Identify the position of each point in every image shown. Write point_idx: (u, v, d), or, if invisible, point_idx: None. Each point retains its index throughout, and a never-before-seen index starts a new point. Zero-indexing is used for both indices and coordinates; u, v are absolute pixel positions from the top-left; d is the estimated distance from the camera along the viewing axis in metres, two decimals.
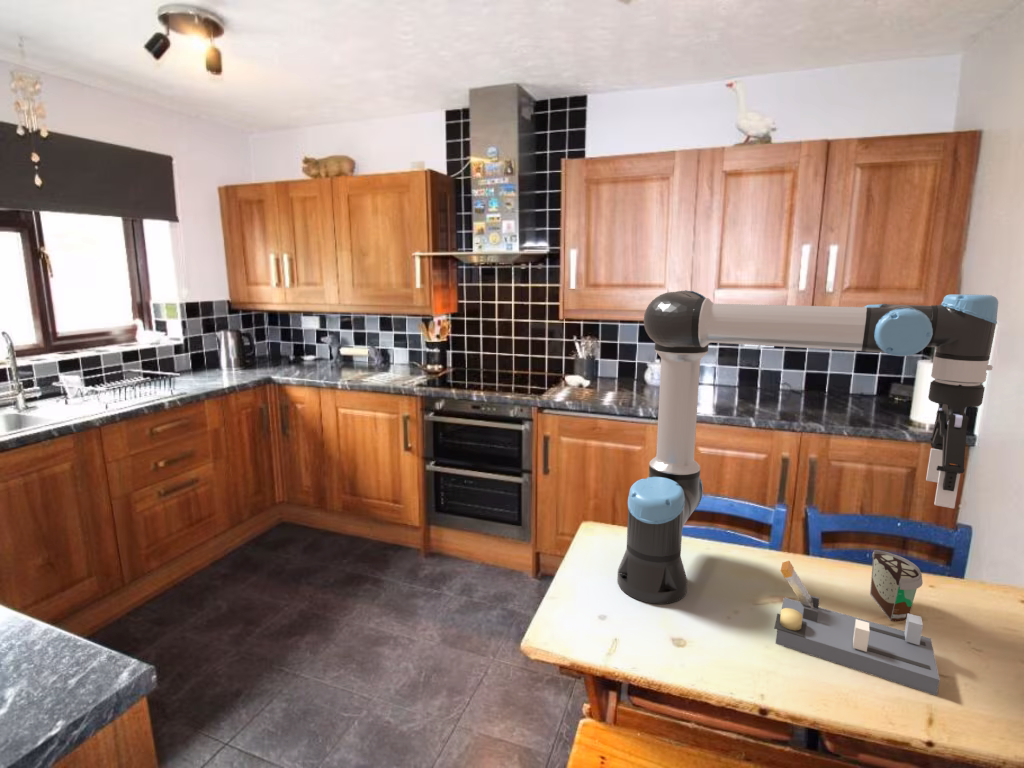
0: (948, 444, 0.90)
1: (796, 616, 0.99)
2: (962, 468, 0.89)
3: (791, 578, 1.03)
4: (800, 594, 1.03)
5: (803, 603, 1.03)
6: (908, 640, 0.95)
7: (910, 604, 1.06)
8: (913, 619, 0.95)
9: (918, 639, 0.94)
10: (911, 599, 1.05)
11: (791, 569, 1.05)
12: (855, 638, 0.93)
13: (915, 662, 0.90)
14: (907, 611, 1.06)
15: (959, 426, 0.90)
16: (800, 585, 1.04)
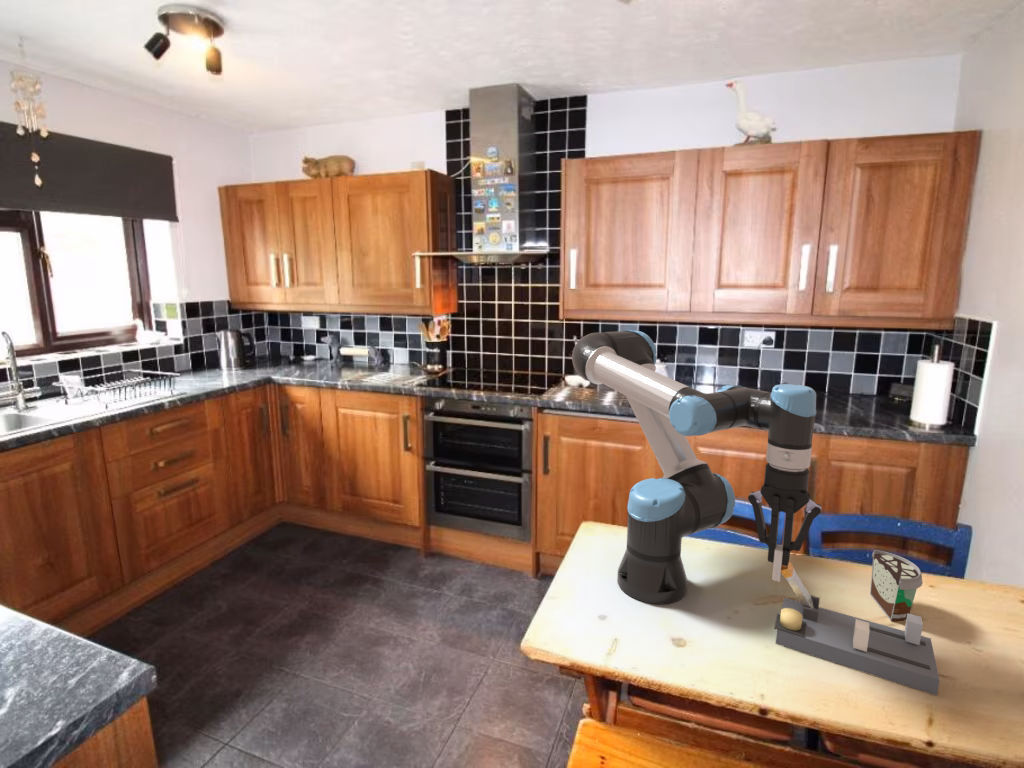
0: None
1: (796, 616, 0.99)
2: (759, 539, 1.06)
3: (791, 578, 1.03)
4: (800, 594, 1.03)
5: (803, 603, 1.03)
6: (908, 640, 0.95)
7: (910, 604, 1.06)
8: (913, 619, 0.95)
9: (918, 639, 0.94)
10: (911, 599, 1.05)
11: (791, 569, 1.05)
12: (855, 638, 0.93)
13: (915, 662, 0.90)
14: (907, 611, 1.06)
15: None
16: (800, 585, 1.04)
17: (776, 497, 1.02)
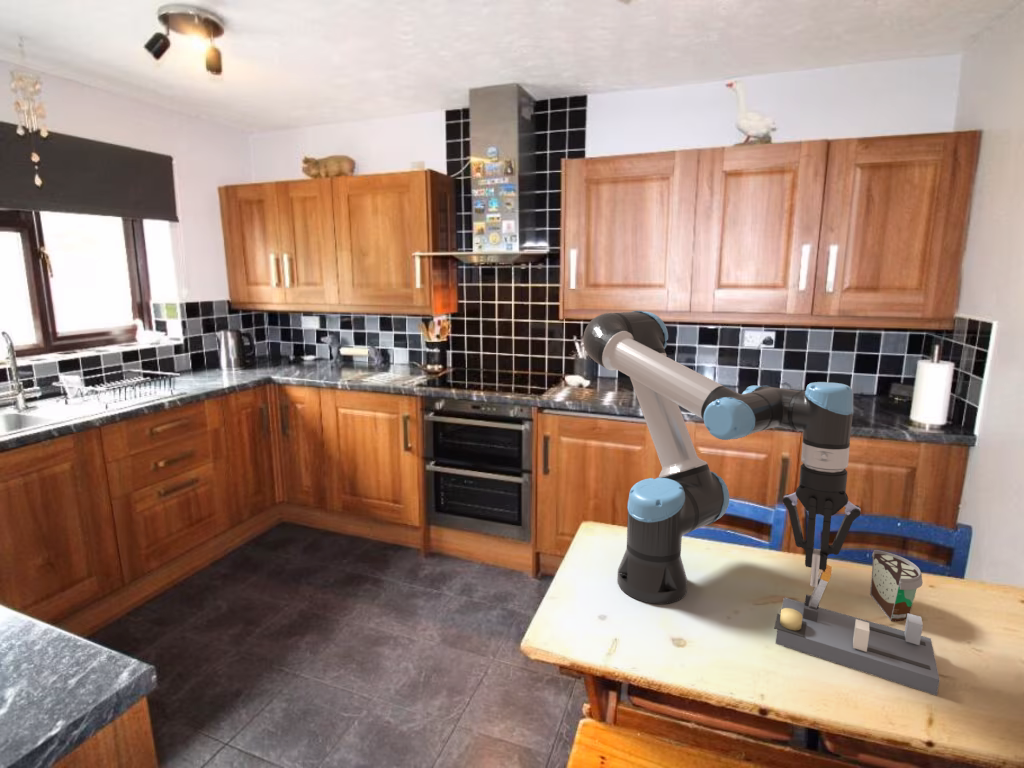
0: None
1: (796, 616, 0.99)
2: None
3: (825, 582, 1.00)
4: (818, 597, 1.01)
5: (812, 603, 1.02)
6: (908, 640, 0.95)
7: (910, 604, 1.06)
8: (913, 619, 0.95)
9: (918, 639, 0.94)
10: (911, 599, 1.05)
11: None
12: (855, 638, 0.93)
13: (915, 662, 0.90)
14: (907, 611, 1.06)
15: None
16: None
17: (813, 499, 0.98)
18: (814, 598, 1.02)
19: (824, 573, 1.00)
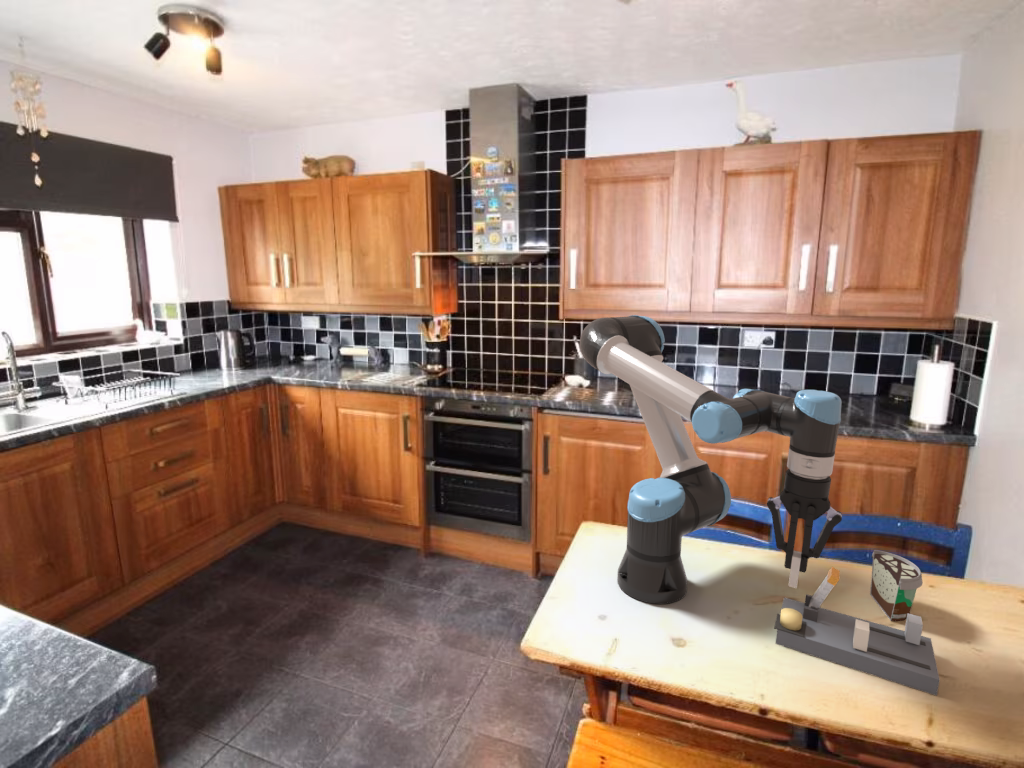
0: None
1: (796, 616, 0.99)
2: (776, 545, 1.04)
3: (831, 586, 1.00)
4: (821, 599, 1.01)
5: (814, 604, 1.02)
6: (908, 640, 0.95)
7: (910, 604, 1.06)
8: (913, 619, 0.95)
9: (918, 639, 0.94)
10: (911, 599, 1.05)
11: None
12: (855, 638, 0.93)
13: (915, 662, 0.90)
14: (907, 611, 1.06)
15: None
16: None
17: (796, 504, 1.00)
18: (817, 599, 1.01)
19: (832, 577, 0.99)
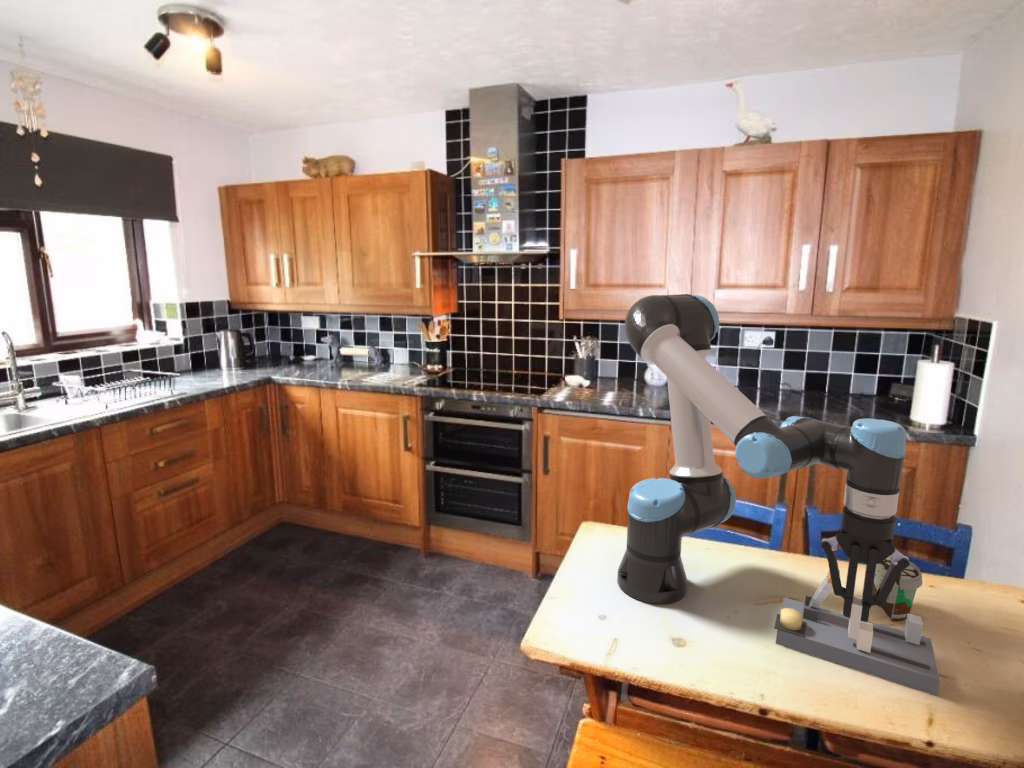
0: None
1: (796, 616, 0.99)
2: (833, 591, 0.94)
3: (831, 586, 1.00)
4: (821, 599, 1.01)
5: (814, 604, 1.02)
6: (908, 640, 0.95)
7: (910, 604, 1.06)
8: (913, 619, 0.95)
9: (918, 639, 0.94)
10: (911, 599, 1.05)
11: None
12: (859, 639, 0.93)
13: (915, 662, 0.90)
14: (907, 611, 1.06)
15: None
16: None
17: (856, 546, 0.90)
18: (817, 599, 1.01)
19: None
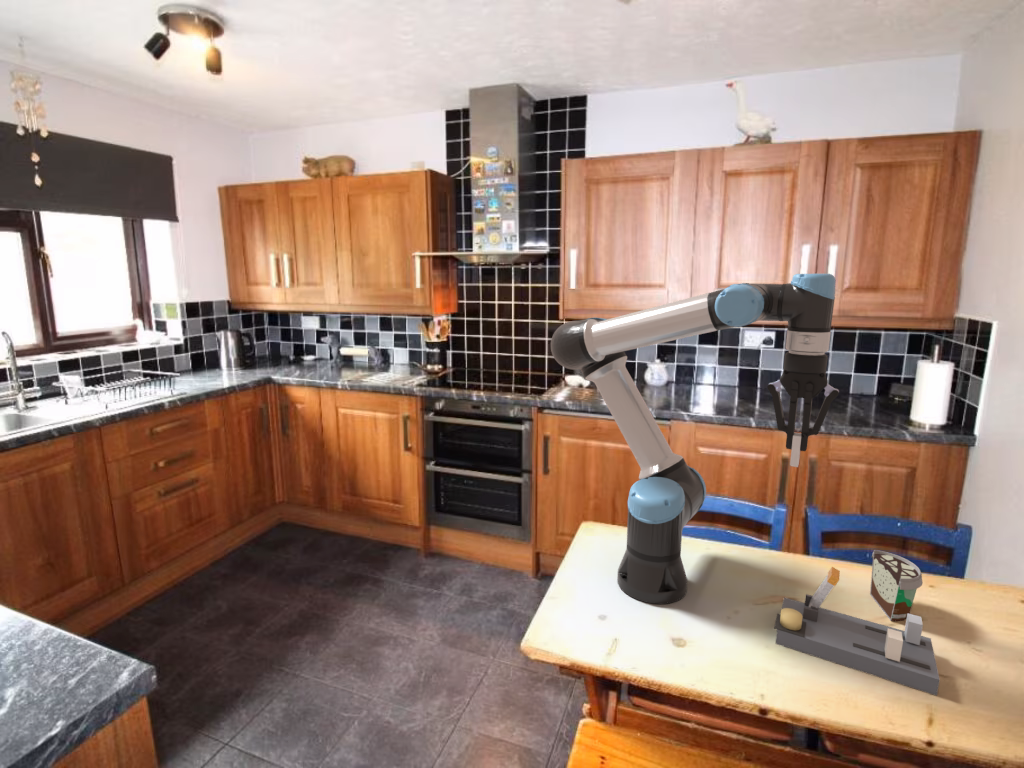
0: None
1: (796, 616, 0.99)
2: None
3: (831, 586, 1.00)
4: (821, 599, 1.01)
5: (814, 604, 1.02)
6: (908, 640, 0.95)
7: (910, 604, 1.06)
8: (913, 619, 0.95)
9: (918, 639, 0.94)
10: (911, 599, 1.05)
11: None
12: (888, 648, 0.91)
13: (915, 662, 0.90)
14: (907, 611, 1.06)
15: None
16: None
17: (795, 383, 1.06)
18: (817, 599, 1.01)
19: (832, 577, 0.99)
